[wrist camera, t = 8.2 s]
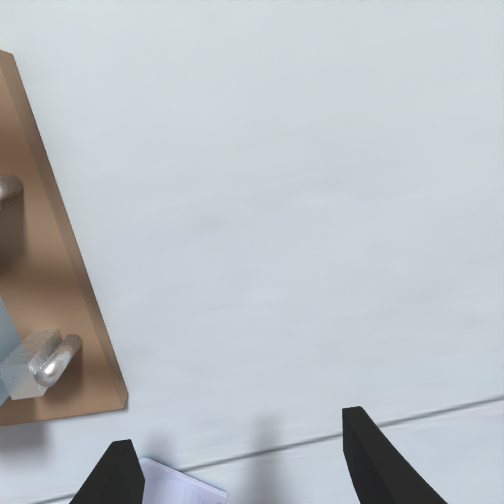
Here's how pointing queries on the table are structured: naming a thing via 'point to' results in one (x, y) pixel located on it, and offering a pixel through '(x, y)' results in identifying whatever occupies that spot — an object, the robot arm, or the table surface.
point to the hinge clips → (34, 340)
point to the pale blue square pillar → (6, 343)
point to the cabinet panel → (47, 271)
